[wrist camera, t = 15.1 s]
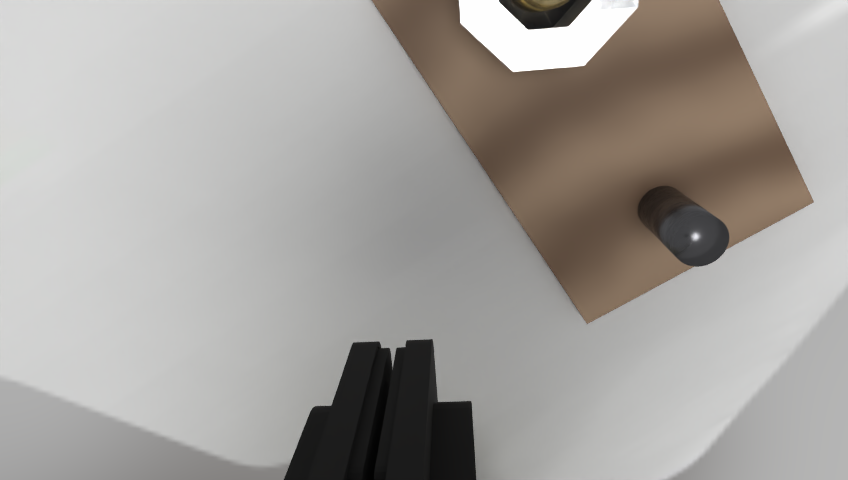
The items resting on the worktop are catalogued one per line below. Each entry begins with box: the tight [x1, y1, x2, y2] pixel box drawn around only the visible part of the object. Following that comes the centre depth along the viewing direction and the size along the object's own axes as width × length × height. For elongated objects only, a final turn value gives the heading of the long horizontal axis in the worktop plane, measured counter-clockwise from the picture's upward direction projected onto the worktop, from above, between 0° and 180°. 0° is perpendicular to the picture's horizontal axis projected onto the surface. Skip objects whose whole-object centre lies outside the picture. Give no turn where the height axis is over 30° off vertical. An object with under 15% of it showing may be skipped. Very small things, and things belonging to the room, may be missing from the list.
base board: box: [372, 0, 814, 324], centre depth 27 cm, size 21×13×1 cm, turn 35°
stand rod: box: [638, 186, 729, 266], centre depth 26 cm, size 2×2×5 cm
